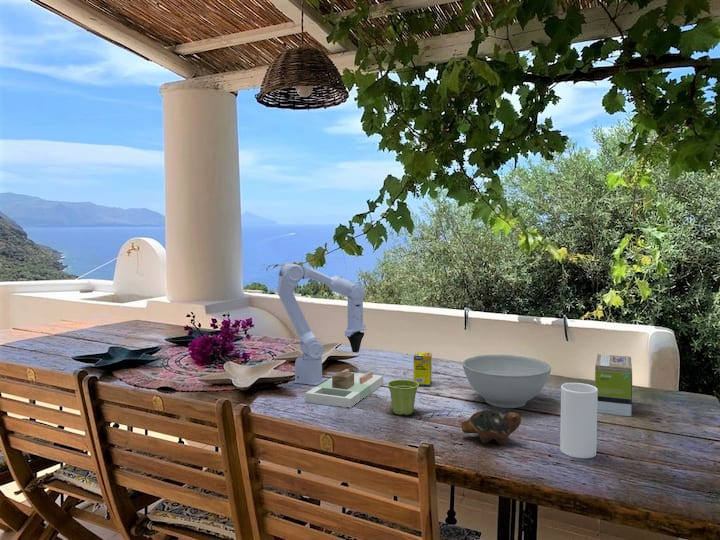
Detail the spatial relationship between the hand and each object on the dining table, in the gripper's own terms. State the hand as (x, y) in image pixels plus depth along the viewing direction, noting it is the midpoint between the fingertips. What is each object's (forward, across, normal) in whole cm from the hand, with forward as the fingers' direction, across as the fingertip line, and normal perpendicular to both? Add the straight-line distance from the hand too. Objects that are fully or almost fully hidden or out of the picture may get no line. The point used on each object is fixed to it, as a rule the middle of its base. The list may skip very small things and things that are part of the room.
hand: (355, 352), depth 198 cm
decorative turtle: (+10, -42, -57) cm, 71 cm away
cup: (+10, -41, -78) cm, 89 cm away
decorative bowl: (+10, -9, -56) cm, 58 cm away
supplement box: (+10, 0, -26) cm, 28 cm away
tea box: (+10, -2, -87) cm, 88 cm away
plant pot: (+10, -30, -29) cm, 43 cm away
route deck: (+9, -19, -5) cm, 22 cm away
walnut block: (+6, -22, -5) cm, 23 cm away
